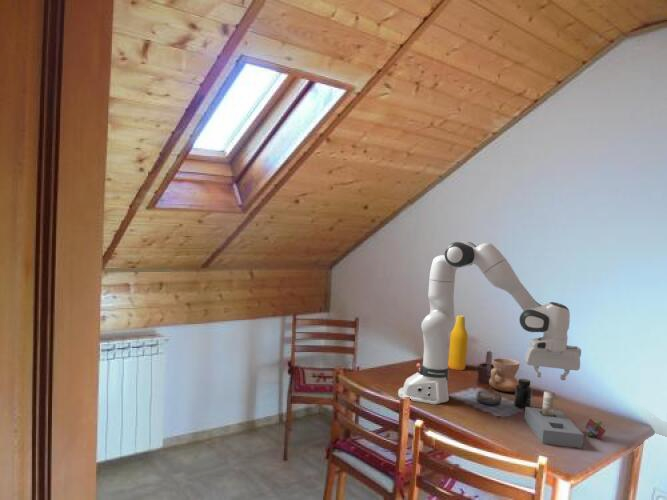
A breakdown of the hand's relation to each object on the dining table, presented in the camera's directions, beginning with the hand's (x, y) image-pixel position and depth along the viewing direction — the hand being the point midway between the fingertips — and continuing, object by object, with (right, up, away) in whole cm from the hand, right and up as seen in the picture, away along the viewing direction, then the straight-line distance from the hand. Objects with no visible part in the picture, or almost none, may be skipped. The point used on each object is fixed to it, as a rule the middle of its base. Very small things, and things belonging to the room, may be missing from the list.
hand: (550, 378), depth 200 cm
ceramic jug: (-4, -17, +45) cm, 49 cm away
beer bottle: (-18, -15, +79) cm, 82 cm away
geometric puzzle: (+14, -21, -7) cm, 26 cm away
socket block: (-2, -20, -5) cm, 20 cm away
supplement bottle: (-3, -18, +22) cm, 29 cm away
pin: (-1, -18, +1) cm, 18 cm away
